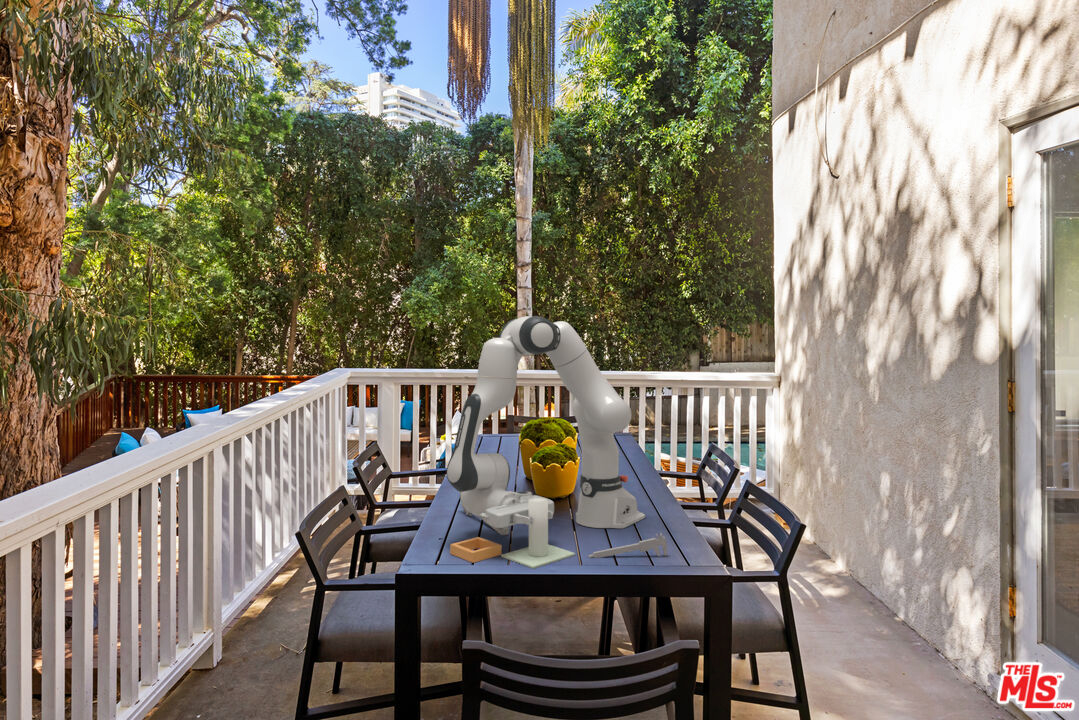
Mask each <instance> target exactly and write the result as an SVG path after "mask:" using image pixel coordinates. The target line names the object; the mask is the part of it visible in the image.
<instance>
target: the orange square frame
mask: <svg viewBox="0 0 1079 720" xmlns="http://www.w3.org/2000/svg"><path fill="white" fill-rule="evenodd" d="M449 546H450V547H449V548H450V549H449V555H453V556H455V557H458V558H459V559H463V560H464V561H468V562H470V563H473V564H474V563H478V562H480V561H484V560H487V559H488V560H489V559H491V558H495V557H498V556H501V555H502V544H499V543H497V542H494V541H491V540H488V539H486V538H482V537H479V536H477V537H472V538H470V539H465V540H462V541H457V542H454V543H451V544H449ZM475 549H476V550H475Z"/></svg>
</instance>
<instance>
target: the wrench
mask: <svg viewBox="0 0 1079 720" xmlns="http://www.w3.org/2000/svg"><path fill="white" fill-rule="evenodd" d="M458 494H459V495H461V492H460V491H458ZM460 506H461V508H462V509H463V511H464V512H465V515H469V517H472V515H473V514H472V513H470V512H468V511H467V510H466V509H465V508H464V507H463V505H462V503H461V505H460ZM480 519H481V520H482V521H483V522H484V523H486V521H485V519H482V518H480ZM487 525H488V526H489V527H491V528H492V529H494V531H496V533H498V534H500V535H501V536H509V534H510V526H507V527H504V528H496V527H494V526H491V525H489V524H487Z"/></svg>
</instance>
